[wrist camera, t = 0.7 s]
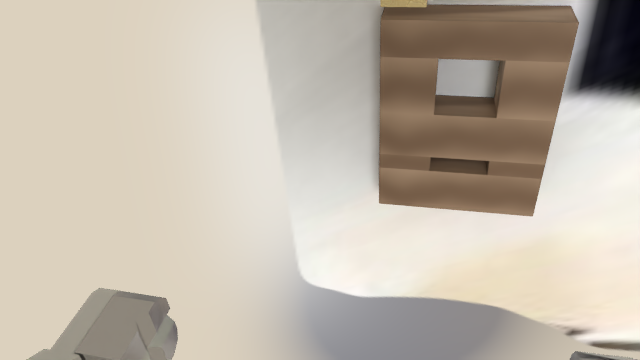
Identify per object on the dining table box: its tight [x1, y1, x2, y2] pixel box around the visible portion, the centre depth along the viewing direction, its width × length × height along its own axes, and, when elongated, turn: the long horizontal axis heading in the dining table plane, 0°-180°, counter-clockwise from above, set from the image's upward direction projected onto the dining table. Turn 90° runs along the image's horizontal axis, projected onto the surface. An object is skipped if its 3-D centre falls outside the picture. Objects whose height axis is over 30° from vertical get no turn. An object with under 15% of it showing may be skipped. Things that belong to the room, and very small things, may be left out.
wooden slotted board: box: [379, 5, 579, 216], centre depth 45 cm, size 18×14×4 cm
